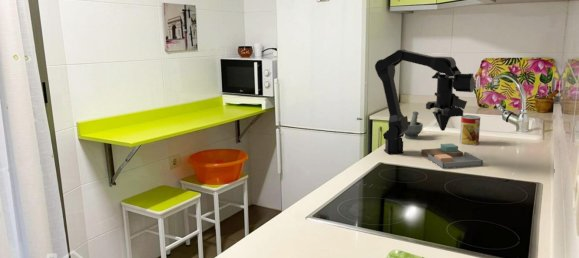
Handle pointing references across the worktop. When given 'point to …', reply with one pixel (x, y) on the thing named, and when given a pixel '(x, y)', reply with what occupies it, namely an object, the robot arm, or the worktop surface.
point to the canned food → (470, 129)
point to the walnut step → (440, 152)
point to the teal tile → (449, 147)
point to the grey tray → (458, 161)
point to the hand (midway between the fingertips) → (442, 130)
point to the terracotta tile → (444, 158)
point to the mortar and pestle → (413, 127)
